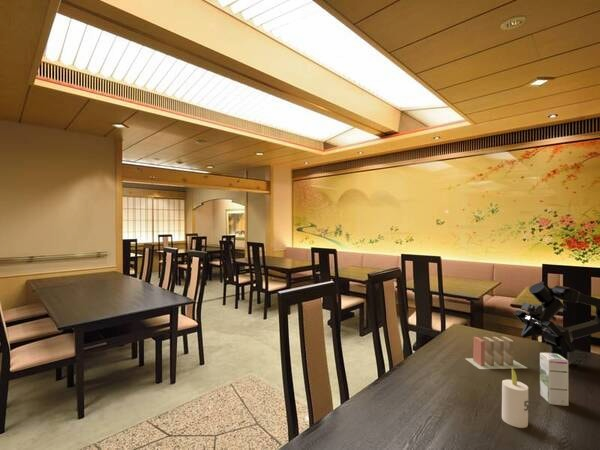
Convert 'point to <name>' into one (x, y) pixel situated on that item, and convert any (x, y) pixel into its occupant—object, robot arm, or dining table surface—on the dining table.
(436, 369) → the dining table surface
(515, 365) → the mat
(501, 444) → the dining table surface
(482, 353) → the domino
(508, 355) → the domino
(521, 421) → the candle
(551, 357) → the syrup box
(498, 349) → the domino
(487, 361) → the domino
